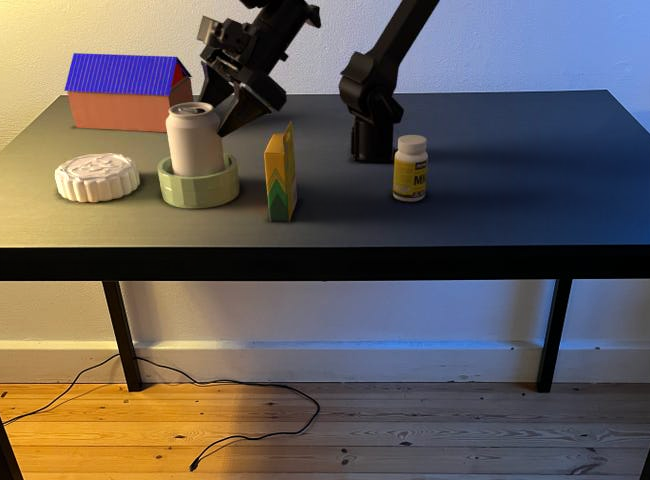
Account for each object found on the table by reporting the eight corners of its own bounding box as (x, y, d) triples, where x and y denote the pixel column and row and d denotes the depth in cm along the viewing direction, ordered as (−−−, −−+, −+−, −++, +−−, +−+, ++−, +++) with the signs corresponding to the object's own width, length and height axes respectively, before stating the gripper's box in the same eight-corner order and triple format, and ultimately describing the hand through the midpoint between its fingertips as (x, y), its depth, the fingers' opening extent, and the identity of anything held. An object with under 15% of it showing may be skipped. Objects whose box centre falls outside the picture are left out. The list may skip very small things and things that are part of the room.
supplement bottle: (415, 205, 98) (419, 147, 93) (387, 198, 100) (389, 141, 95) (430, 193, 101) (434, 137, 96) (402, 187, 103) (405, 131, 98)
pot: (246, 179, 106) (243, 150, 103) (230, 209, 97) (227, 179, 94) (174, 177, 107) (170, 148, 104) (152, 207, 98) (147, 177, 95)
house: (174, 133, 124) (164, 65, 117) (73, 127, 127) (57, 61, 120) (197, 113, 133) (189, 48, 126) (102, 108, 136) (89, 45, 129)
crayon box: (277, 199, 100) (272, 119, 93) (297, 200, 99) (293, 119, 92) (268, 221, 94) (262, 137, 87) (289, 222, 93) (284, 137, 86)
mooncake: (100, 209, 97) (95, 185, 95) (42, 193, 102) (35, 170, 100) (156, 180, 106) (153, 158, 104) (100, 167, 111) (95, 145, 108)
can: (231, 195, 100) (222, 112, 92) (179, 202, 98) (166, 118, 91) (223, 177, 105) (213, 97, 98) (174, 183, 104) (161, 102, 97)
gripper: (204, -19, 96) (142, 75, 98) (257, 1, 82) (184, 109, 85) (260, 35, 103) (201, 121, 106) (317, 61, 90) (248, 158, 93)
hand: (207, 126), depth 97 cm, fingers open, 9 cm apart
